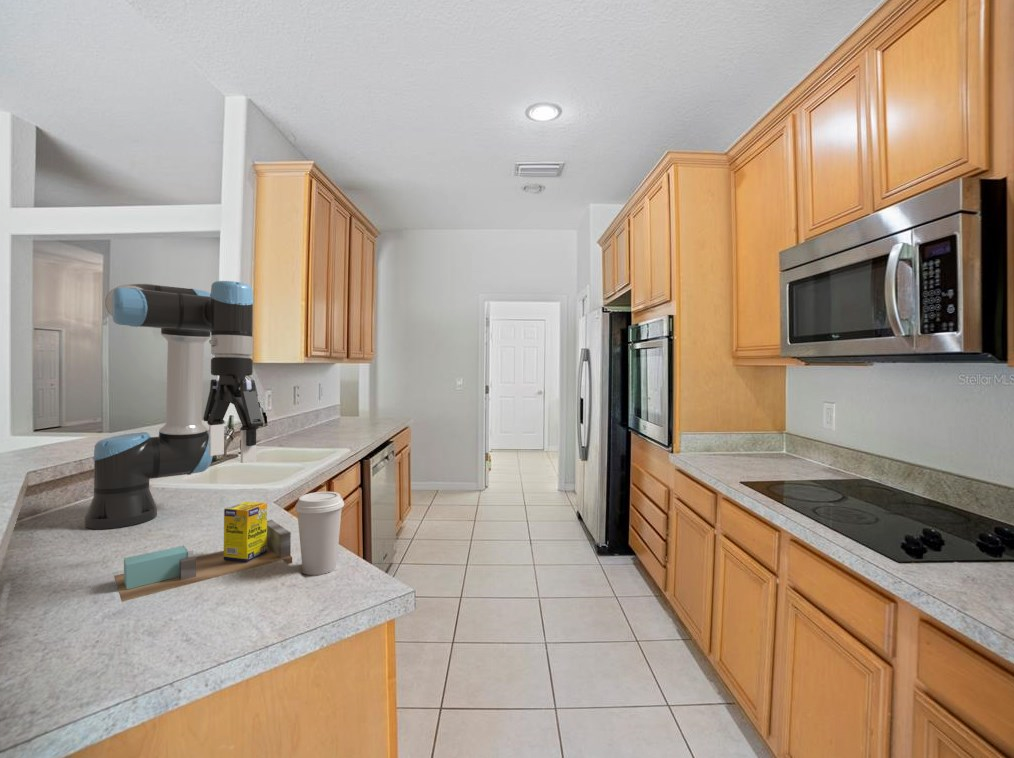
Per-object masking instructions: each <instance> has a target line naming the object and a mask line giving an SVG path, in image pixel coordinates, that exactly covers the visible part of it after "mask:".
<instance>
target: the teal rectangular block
mask: <svg viewBox="0 0 1014 758" xmlns="http://www.w3.org/2000/svg"><path fill="white" fill-rule="evenodd" d="M193 556H194V550H193V548H192V547H191V546H190V545H189V544H188V543H187V544H183V545H180V546H175V547H170V548H166V549H161V550H157V551H152V552H147V553H142V554H138V555H137V554H136V555H132V556H128V557H123V574H124V583H125V586H126V589H131V588H135V587H139V586H143V585H147V584H151V583H155V582H159V581H163V580H167V579H171V578H175V577H179V559H184V558H188V557H193Z"/></svg>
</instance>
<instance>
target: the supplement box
mask: <svg viewBox="0 0 1014 758" xmlns="http://www.w3.org/2000/svg"><path fill="white" fill-rule="evenodd" d="M267 521H268V503H267V502H259V501H258V502H257V501H256V502H255V501H244V502H241V503H238V504H235V505H232V506H230V507H226V508H225V507H224V509H223V551H224V560H228V561H237V562H249V561H250V560H252V559H254V558H256V557H258V556H260V555H262V554H264V553H266V552H267Z"/></svg>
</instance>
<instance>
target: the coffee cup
mask: <svg viewBox="0 0 1014 758" xmlns="http://www.w3.org/2000/svg"><path fill="white" fill-rule="evenodd" d="M344 506H345V501H344V499H343V498H342V496H341V494H340V493H339V492H335V491H317V492H316V491H315V492H310V493H306V494H305V493H304V494H303V495H301V496H299V497H298V500H297V502H296V503H295V506H294V511H295V512H296V513H297V522H298V523H297V524H298V532H299V534H298V535H299V544H300V554H301V566H302V568H301V569H302V573H303V574H305V575H307V576H319V575H320V574H321V575H325V573H326V574H328V572H329V573H331V572H333V571H335V570H336V568H337V564H338V563H337V562H338V553H339V541H340V540H339V539H340V531H341V518H342V509H343V507H344ZM332 570H333V571H332Z"/></svg>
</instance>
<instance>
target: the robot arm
mask: <svg viewBox="0 0 1014 758" xmlns="http://www.w3.org/2000/svg"><path fill="white" fill-rule="evenodd" d="M254 302H255V301H254V297H253V289H252V286H250V285H249V284H248V283H244V282H239V281H234V280H233V281H230V280H217V281H214V282H213V283H212V284H211V288H210V291H206V290H201V289H195V288H185V287H175V286H168V285H167V286H166V285H160V284H159V285H157V284H152V283H151V284H150V283H149V284H148V283H134V284H124V285H120V286H117V287H115V288H113V289H111V290H110V291H109V292H108V293H107V295H106V298H105V308H106V309H107V312H108V313H109V315H110V316H111V317H112V321H113V323H115V324H117V325H119V326H129V327H132V328H133V327H136V328H138V327H140V328H142V327H143V328H154V329H155V328H156V329H157V328H158V329H160V335H161V336H162V337H163V339H165V340H166V341H167V353H166V355H167V356H166V357H167V361H166V363H167V364H166V403H165V404H166V406H165V407H166V408H165V409H166V411H165V424H164V425H163V426H162V427H160V429H159V431H158V436H152V437H151V434H150V433H149V432H144V431H143V432H142V431H141V432H134V433H127V434H126V433H125V434H119V435H114V436H110V437H105V438H103V439H100V440H99V441H97V442H96V443H95V444H94V451H93V458H92V460H93V465H94V466H93V467H94V468H93V497H92V500H91V502H90V505H89V507H88V510H87V512H86V514H85V517H84V527H85V528H87V529H92V530H108V529H117V528H118V529H119V528H124V527H131V526H135V525H139V524H142V523H146V522H148V521H151V520H153V519H155V518H157V516H158V506H157V504H156V501H155V498H153V495H152V492H151V490H150V489H151V488H150V480H152V479H161V478H168V477H175V476H183V475H187V476H189V475H192V474H198V473H199V474H200V473H204V472H205V471H207V469H208V468H210V466H211V463H212V460H213V457H214V456H219V455H220V456H221V455H225V424H226V422H225V420H224V418H225V416H226V413H227V411H228V409H229V407H230V405H231V404H232V405H233V406H234V408H235V410H236V413H237V415H238V418H239V420H240V423H241V427H240V428H239V430H240V463H241V464H245V463H252V462H257V430H258V429H259V428H260V427H263V426H264V419H263V416H262V411H261V408H260V404H259V400H258V396H257V392H256V381H255V380H254V379H250V380H249V379H246V377H247V376H249V377H251V376H252V375H253V373H254V370H253V369H254V367H253V366H254V365H253V358H251V356H253V355H254V354H253V353H254V350H253V349H254V337H253V329H254V327H253V326H254V325H253V321H254V320H253V319H254V317H253V316H254V313H253V312H254ZM206 341H208V342H209V345H210V347H211V348H210V349H211V350H210V351H211V352H210V354H211V355H213V356H214V357H211V358H210V374H211V375H212V376H218V379H217V378H216V379H211V380H210V387H209V391H208V392H209V394H208V397H207V402H206V406H205V410H204V415H203V390H204V389H203V386H204V358H205V357H204V356H205V355H204V353H205V352H204V351H205V350H204V349H205V342H206ZM203 421H204V422H207V423H206V424H207V425H208V427H207V426H206V425H204V424H203Z"/></svg>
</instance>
